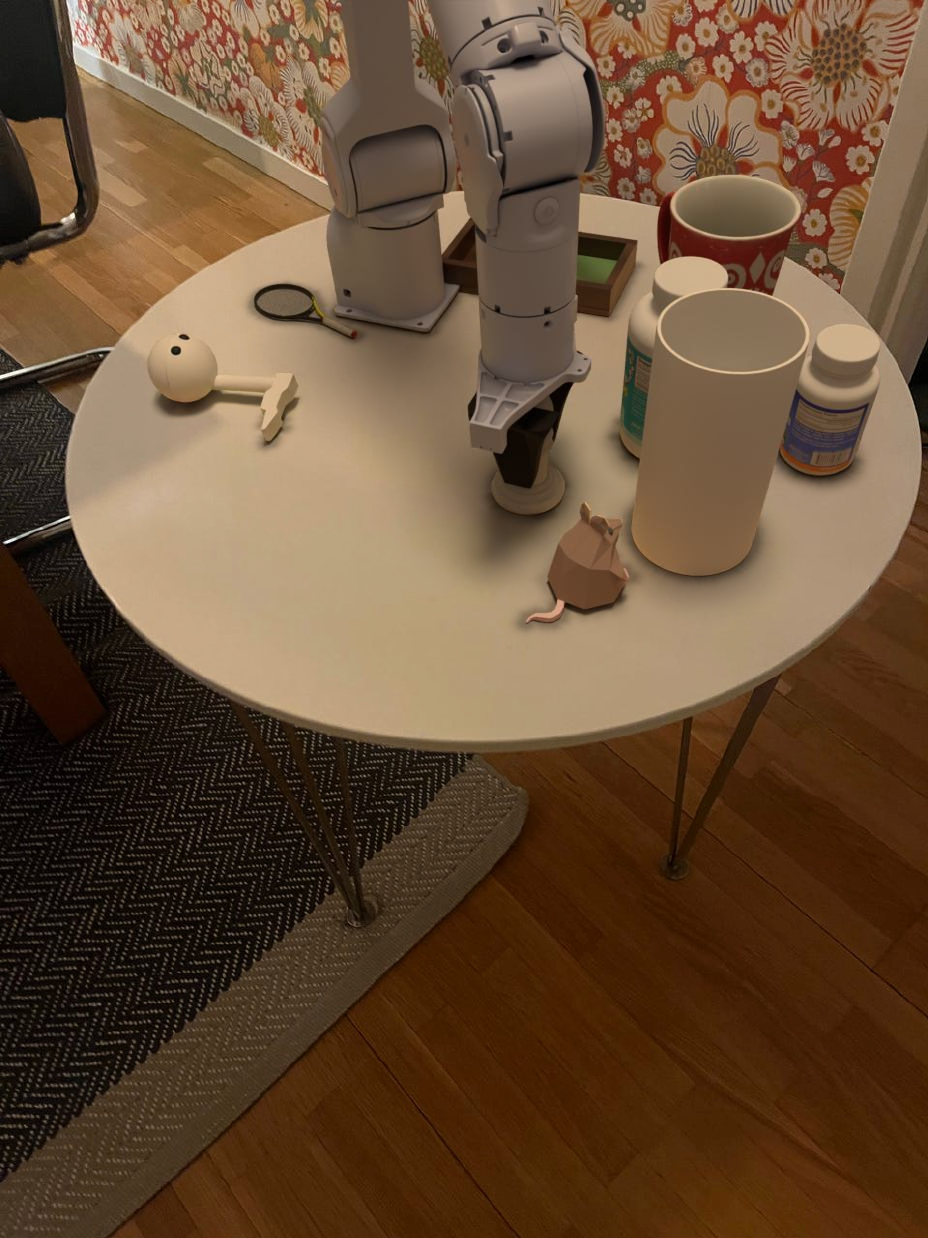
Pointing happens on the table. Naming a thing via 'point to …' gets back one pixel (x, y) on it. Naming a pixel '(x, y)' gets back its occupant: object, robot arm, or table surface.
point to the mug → (730, 227)
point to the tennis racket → (301, 315)
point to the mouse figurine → (586, 565)
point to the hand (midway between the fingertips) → (527, 465)
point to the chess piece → (544, 488)
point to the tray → (597, 267)
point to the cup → (714, 425)
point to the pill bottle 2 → (832, 400)
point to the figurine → (213, 378)
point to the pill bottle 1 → (667, 287)
